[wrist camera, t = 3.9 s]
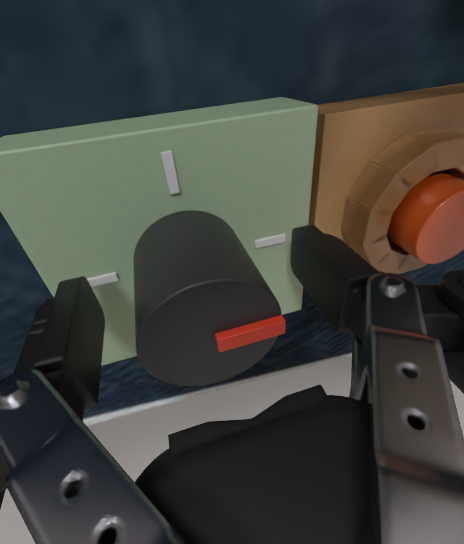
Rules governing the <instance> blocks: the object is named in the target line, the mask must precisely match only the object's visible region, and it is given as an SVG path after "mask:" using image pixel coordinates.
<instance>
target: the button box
mask: <svg viewBox="0 0 464 544" xmlns="http://www.w3.org/2000/svg"><path fill="white" fill-rule="evenodd" d="M440 173H443V174H449V175H451V176H454V177H457V178H460V179H463V180H464V83H460V84H453V85H447V86H440V87H433V88H426V89H420V90H413V91H406V92H400V93H393V94H386V95H379V96H373V97H366V98H359V99H353V100H346V101H339V102H332V103H326V104H319V105H318V115H317V127H316V139H315V151H314V163H313V175H312V187H311V199H310V211H309V223H308V225H310V224H313V225H315V226H316V227H317V228H318V229H319V230H320V231H322V232H323V233H324V234H326V233H328V234H330V235H333V236H335V237H337V238H340V239H341V240H342V241H343V242H344V243H346V244H347V245H348V247H350V248H351V249H353V250H354V251H355V253H357V254H359V255H360V256H361V257H362V258H363V259H364V260H366V261H367V262H368V263H369V264H370V265H372V266H373V267H374V268H375V269H376V270H377V271H381V272H385V273H394V274H400V273H404V272H408V271H411V270H415V269H419V268H422V267H424V266H425V265H427V263H423V262H421V261H420V260H418V259H417V258H415V257H414V256H412V255H411V254H409V253H408V252H406V251H405V250H403V249H402V248H401V247H399V246H398V245H396V244H395V243H393V242H392V240H391V239H390V237H389V233H388V228H389V224H390V221H391V217H392V213H393V212H394V211H395V209H396V208H397V206H398V205H399V204H400V202H401V201H402V200H403V198H404V197H405V195H406V194H407V193H408V191H409V190H410V189H411V188H413V187H414V186H415V185H417V184H418V183H419V182H421V181H422V180H424V179H425V178H426V177H428V176H430V175H434V174H440Z"/></svg>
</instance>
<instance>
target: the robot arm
mask: <svg viewBox="0 0 464 544" xmlns="http://www.w3.org/2000/svg"><path fill="white" fill-rule="evenodd" d="M290 262H291V268H292V271H293V273H294V275H295V277H296V278H297V279H298V280H299V282H300V283H301V284H302V286H303V287H304V288H305V290H306V291H307V292H308V293H309V295H310V296H311V297H312V299H313V300H314V301H315V303H316V304H317V305H318V306H319V308H320V309H321V310H322V312H323V313H324V314H325V316H326V317H327V318H328V319H329V321H330V322H331V323H332V325H333V326H334V327H335V329H336V330H337V331H338V332H339V333H341V332H344V331H347V330H352V331H353V333H354V337H353V350H352V373H351V374H352V375H351V389H350V395H349V397H344V396H334V395H326V393H325V391H324V389H323V388H322V386H321V385H317V386H315V387H312V388H308V389H305V390H302V391H300V392H296V393H293V394H290V395H287V396H285V397H283V398H282V399H281V400H279V401H277V402H276V403H275V404H273V405H272V406H270V407H269V408H267V409H266V410H264V411H263V412H261V413H260V414H258V415H257V416H255V417H253V418H251V419H244V420H228V421H213V422H206V423H203V424H200V425H197V426H194V427H191V428H188V429H185V430H182V431H179V432H176V433H173V434H170V435H168V437H169V449H167V450H166V451H164V452H163V453H162V454H160V455H159V456H158V457H157V458H156V459H154V460H153V461H152V462H151V463H150V464H149V465H148V467H147V468H146V469H145V470H144V471H143V472H142V473H141V475H140V476H139V477H138V478H137V480H136V481H135V483H134V482H133V480H132V479H131V478H130V477H129V476H128V474H127V473H126V472H125V471H124V470H123V468H122V467H121V466H120V465H119V464H118V463H117V461H116V460H115V459H114V458H113V457H112V456H111V454H110V453H109V452H108V451H107V450H106V449H105V447H104V446H103V445H102V444H101V443H100V442H99V440H98V439H97V438H96V437H95V436H94V434H93V433H92V432H91V431H90V430H89V429H88V427H87V426H86V425H85V424H84V423H83V413H84V409H87V408H90V407H93V406H97V405H98V395H99V384H100V373H101V363H102V352H103V342H104V331H105V317H104V313H103V310H102V307H101V305H100V303H99V301H98V299H97V297H96V295H95V294H94V292H93V290H92V288H91V286H90V284H89V282H88V280H87V278H86V277H84V276H81V277H77V278H72V279H68V280H64V281H60V282H59V284H58V287H57V290H56V294H55V297H54V298H50V299H47V300H46V301H45V302H44V303H43V305H42V306H41V307H40V308H39V309H38V310H37V312H36V314H35V317H34V320H33V322H32V324H33V326H31V328H30V330H29V333H28V334H29V336H27V339H26V341H25V344H24V347H23V349H22V352H21V355H20V357H19V360H18V363H17V365H16V368H15V371H14V373H13V374H11V375H9V376H7V377H6V378H4V379H2V380H1V381H0V508H1V505H2V501H3V497H4V493H5V489H7V488H8V490H9V492H10V494H11V496H12V498H13V500H14V502H15V504H16V506H17V508H18V510H19V512H20V514H21V516H22V518H23V520H24V522H25V524H26V526H27V528H28V530H29V531H30V533H31V535H32V537H33V539H34V541H35V543H36V544H464V438H463V434H462V430H461V426H460V422H459V417H458V413H457V409H456V405H455V401H454V396H453V392H452V388H451V384H450V380H451V381H452V382H453V383H454V384H455V385H456V386H457V387H458V388H459V389H460V390H461V391H462V392H463V393H464V271H459V270H458V271H451V272H448V273H446V274H445V275H444V276H443V279H442V281H441V283H440V285H415V284H414V283H413V282H412V281H411V280H409V279H408V278H406V277H404V276H401V275H398V274H394V273H380V272H379V271H377V270H376V269H375V268H374V267H373V266H372V265H370V264H369V263H368V262H367V261H366V260H364V259H363V258H362V257H361V256H360V255H359V254H357V253H355V251H354V250H353V249H351V248H350V247H348V245H347V244H346V243H344V242H343V241H342V240H341V239H340V238H337V237H335V236H333V235H330V234H328V233H326V234H324V233H323V232H322V231H320V230H319V229H318V228H317V227H316V226H315V225H313V224H310V225H305V226H301V227H297V228H294V229H293V230H292V234H291V259H290ZM449 379H450V380H449Z"/></svg>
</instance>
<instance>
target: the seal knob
mask: <svg viewBox="0 0 464 544" xmlns="http://www.w3.org/2000/svg"><path fill="white" fill-rule="evenodd" d="M133 266H134V302H135V338H136V352H137V355H138V358H139V360H140V362H141V364H142V365H143V367H144V368H145V369H146V370H147V371H148V372H149V373H150V374H151V375H153V376H154V377H156V378H158V379H160V380H162V381H165V382H168V383H171V384H176V385H186V386H197V385H206V384H211V383H215V382H219V381H223V380H225V379H228V378H231V377H233V376H235V375H238V374H239V373H241V372H243V371H245V370H247V369H248V368H250V367H251V366H253V365H254V364H255V363H257V362H258V361H259V360H260V359H261V358H262V357H264V355H265V354H266V353H267V352H268V351H269V350H270V349H271V347H272V346H273V345H274V343H275V341H276V339H277V337H278V335H281V334H284V333H285V323H286V321H285V319H284V318H283V316H282V312H281V308H280V305H279V303H278V301H277V299H276V297H275V296H274V294H273V292H272V291H271V289H270V288H269V286H268V285H267V283H266V281H265V280H264V278H263V277H262V275H261V273H260V272H259V270H258V269H257V267H256V265H255V264H254V262H253V261H252V259H251V257H250V256H249V254H248V253H247V251H246V250H245V248H244V246H243V245H242V243H241V242H240V240H239V238H238V237H237V235H236V234H235V232H234V231H233V229H232V228H231V227H230V226H229V225H228V224H227V223H226V222H225V221H224V220H222V219H221V218H219V217H217V216H216V215H213V214H210V213H207V212H203V211H195V210H187V211H179V212H175V213H172V214H169V215H167V216H164V217H162V218H161V219H159V220H157V221H156V222H154V223H153V224H152V225H150V226H149V227H148V228H147V229H146V230H145V232H144V233H143V234H142V235H141V237H140V239H139V240H138V242H137V245H136V247H135V251H134V258H133Z"/></svg>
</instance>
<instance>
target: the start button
mask: <svg viewBox="0 0 464 544" xmlns="http://www.w3.org/2000/svg"><path fill="white" fill-rule="evenodd" d="M388 233H389V237H390V239H391V240H392V242H393V243H395V244H396V245H398V246H399V247H401V248H402V249H403V250H405V251H406V252H408V253H409V254H411V255H412V256H414V257H415V258H417V259H418V260H420V261H421V262H423V263H427V264H435V263H440V262H443V261H445V260H448V259H450V258H451V257H453V256H455V255H456V254H458V253H459V252H461V251H462V250H463V249H464V180H463V179H460V178H457V177H454V176H451V175H449V174H443V173H440V174H434V175H430V176H428V177H426V178H425V179H424V180H422V181H421V182H419V183H418V184H417V185H415V186H414V187H413V188H411V189H410V190H409V191H408V193H407V194H406V195H405V197H404V198H403V200H402V201H401V202H400V204H399V205H398V206H397V208H396V209H395V211H394V212H393V213H392V217H391V221H390V224H389V228H388Z"/></svg>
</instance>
